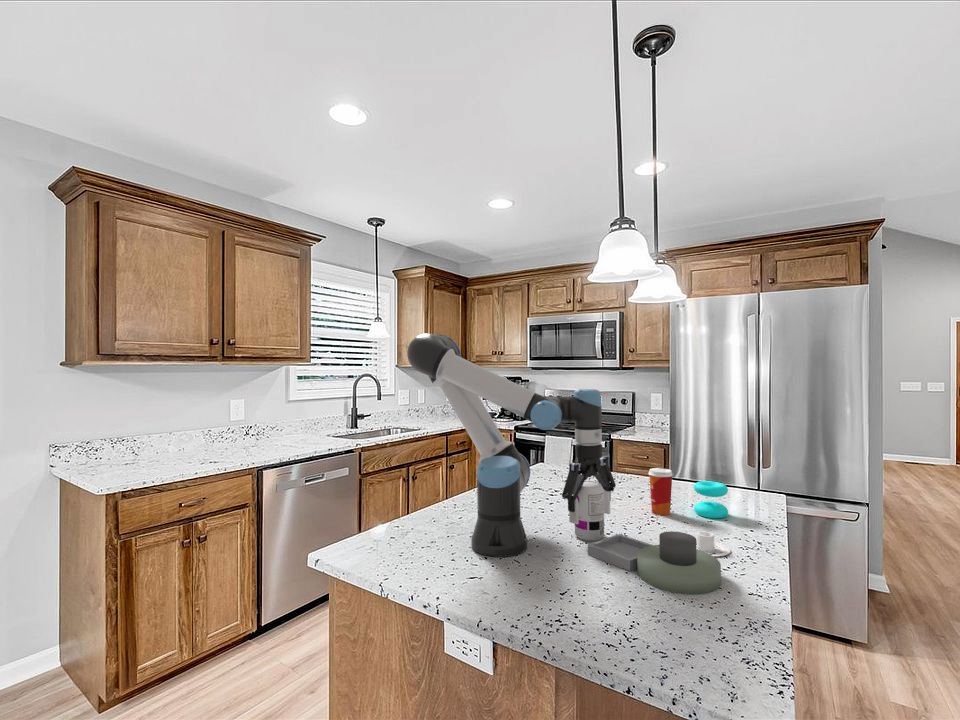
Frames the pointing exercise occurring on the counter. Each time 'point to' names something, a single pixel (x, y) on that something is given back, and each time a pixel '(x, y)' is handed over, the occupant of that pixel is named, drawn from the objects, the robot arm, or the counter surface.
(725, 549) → the candle holder
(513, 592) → the counter surface
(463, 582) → the counter surface
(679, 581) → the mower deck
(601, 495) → the supplement can
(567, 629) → the counter surface
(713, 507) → the donuts
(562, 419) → the robot arm
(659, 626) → the counter surface
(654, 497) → the paper cup
